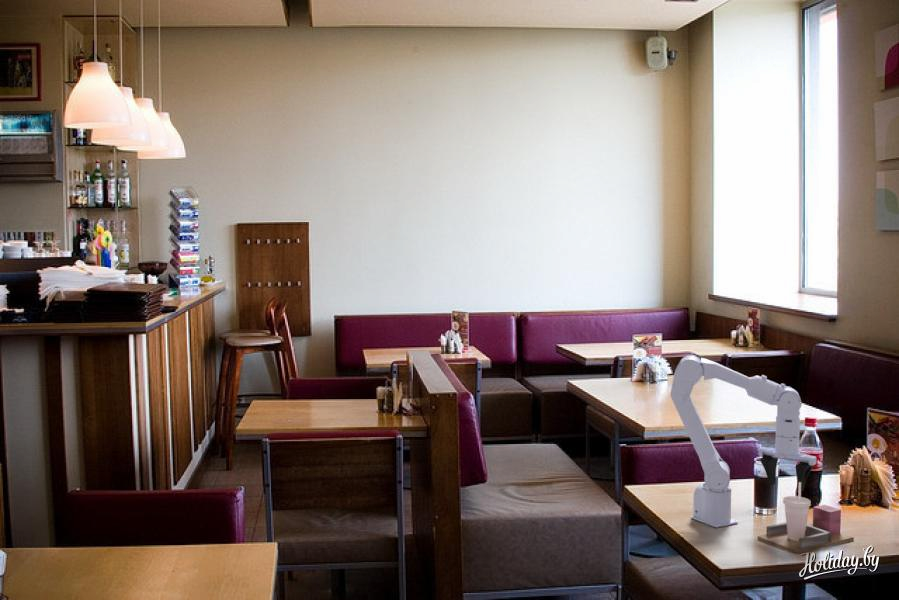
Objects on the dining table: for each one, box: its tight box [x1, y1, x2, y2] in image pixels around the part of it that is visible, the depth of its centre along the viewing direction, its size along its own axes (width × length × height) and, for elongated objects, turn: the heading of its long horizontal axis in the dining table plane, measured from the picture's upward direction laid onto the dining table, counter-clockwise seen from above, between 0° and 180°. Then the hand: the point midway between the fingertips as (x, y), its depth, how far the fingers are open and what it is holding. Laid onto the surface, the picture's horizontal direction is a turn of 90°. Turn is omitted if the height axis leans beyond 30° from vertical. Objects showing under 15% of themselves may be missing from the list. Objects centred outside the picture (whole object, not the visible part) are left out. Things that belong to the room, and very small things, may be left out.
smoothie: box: [782, 482, 812, 541], centre depth 225 cm, size 6×6×14 cm
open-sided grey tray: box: [757, 504, 855, 555], centre depth 227 cm, size 12×20×7 cm, turn 118°
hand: (786, 487), depth 236 cm, fingers open, 7 cm apart
